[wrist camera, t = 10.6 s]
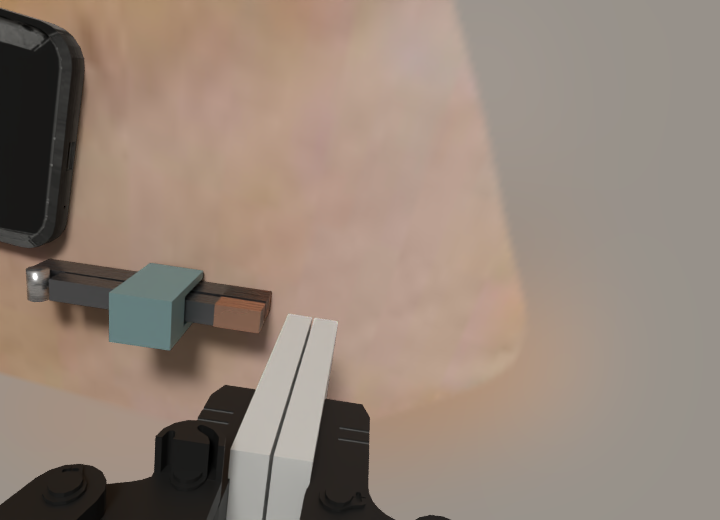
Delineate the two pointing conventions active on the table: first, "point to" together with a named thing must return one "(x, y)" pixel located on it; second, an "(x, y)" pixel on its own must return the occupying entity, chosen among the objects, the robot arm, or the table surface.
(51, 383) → the table surface
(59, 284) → the bar
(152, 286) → the teal matte cube
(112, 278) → the arm
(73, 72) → the phone
